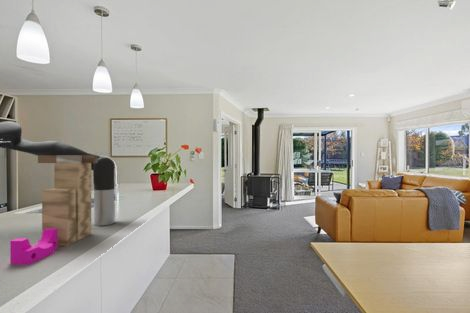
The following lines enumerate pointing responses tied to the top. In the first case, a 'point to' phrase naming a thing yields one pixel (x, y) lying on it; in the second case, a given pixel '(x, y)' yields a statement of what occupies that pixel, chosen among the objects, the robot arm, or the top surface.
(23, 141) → the robot arm
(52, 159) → the walnut bar
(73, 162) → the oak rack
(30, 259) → the toy block
